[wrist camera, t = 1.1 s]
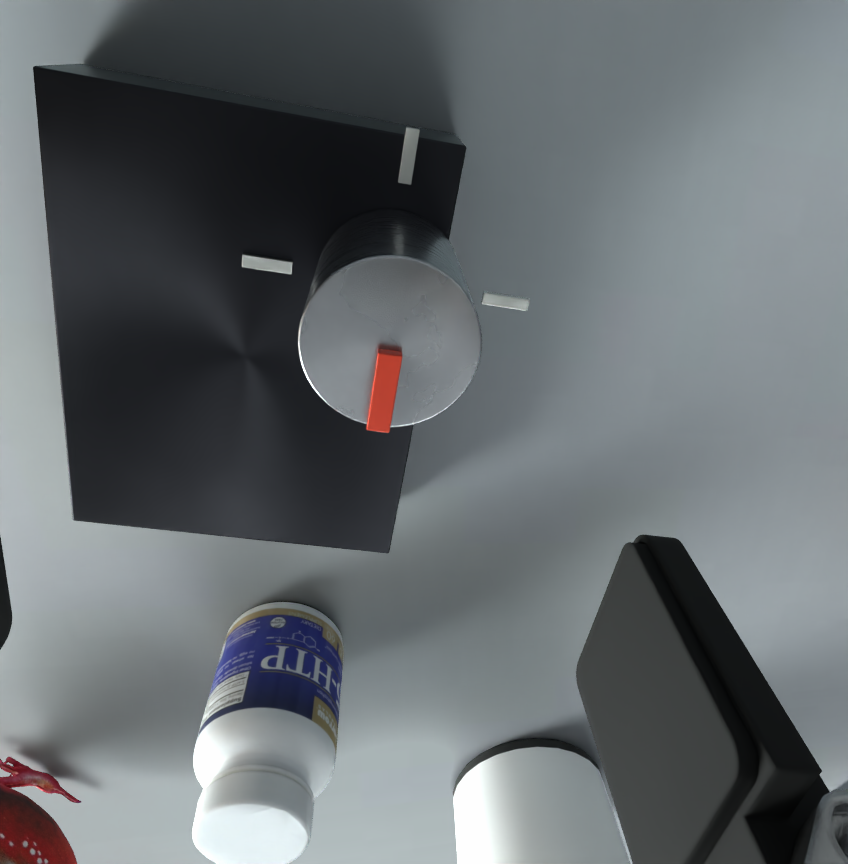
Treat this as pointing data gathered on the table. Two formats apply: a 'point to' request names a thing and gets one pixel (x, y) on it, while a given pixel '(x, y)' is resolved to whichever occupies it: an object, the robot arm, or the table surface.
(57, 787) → the decorative bird figurine
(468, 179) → the table surface
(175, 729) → the table surface
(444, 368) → the hob knob
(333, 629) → the pill bottle
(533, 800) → the mug
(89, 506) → the panel
